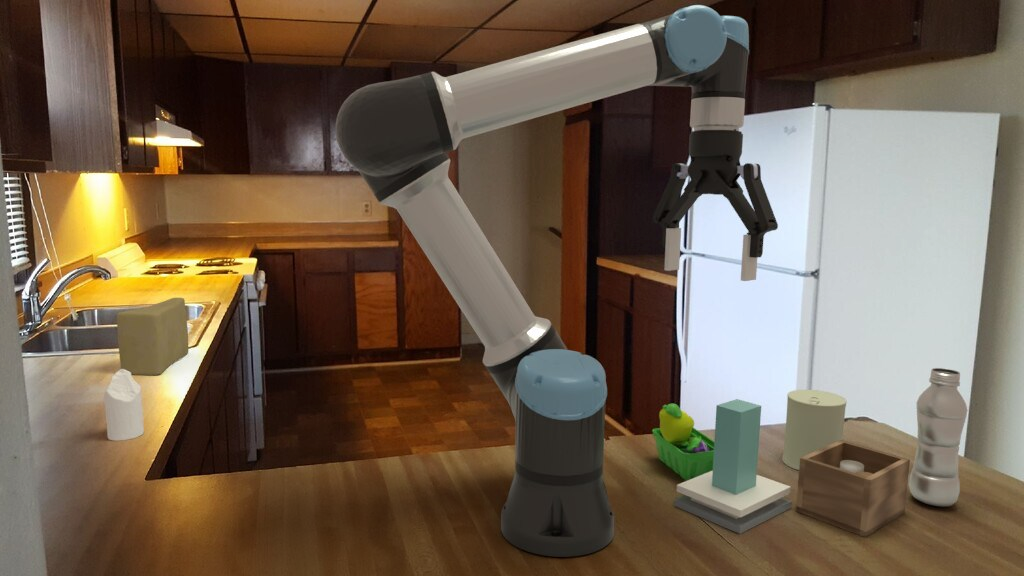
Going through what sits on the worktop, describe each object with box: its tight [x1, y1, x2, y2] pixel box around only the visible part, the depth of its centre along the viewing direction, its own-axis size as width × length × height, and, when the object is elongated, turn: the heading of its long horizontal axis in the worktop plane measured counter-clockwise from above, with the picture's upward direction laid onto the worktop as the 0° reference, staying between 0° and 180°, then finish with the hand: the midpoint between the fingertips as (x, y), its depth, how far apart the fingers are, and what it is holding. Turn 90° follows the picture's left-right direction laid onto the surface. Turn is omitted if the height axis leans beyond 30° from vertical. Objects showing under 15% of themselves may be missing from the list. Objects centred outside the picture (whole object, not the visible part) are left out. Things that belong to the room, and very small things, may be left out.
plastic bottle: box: [908, 367, 968, 508], centre depth 110 cm, size 6×7×20 cm
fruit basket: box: [651, 403, 714, 481], centre depth 122 cm, size 11×9×11 cm
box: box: [795, 440, 911, 538], centre depth 107 cm, size 12×10×8 cm
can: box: [781, 389, 847, 471], centre depth 125 cm, size 9×9×12 cm
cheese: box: [116, 297, 189, 376], centre depth 182 cm, size 22×10×15 cm, turn 177°
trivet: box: [673, 494, 793, 535], centre depth 109 cm, size 13×11×1 cm
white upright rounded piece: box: [103, 368, 145, 442], centre depth 133 cm, size 6×12×6 cm
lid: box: [676, 398, 792, 519], centre depth 107 cm, size 13×11×14 cm
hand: (708, 275), depth 112 cm, fingers open, 13 cm apart
